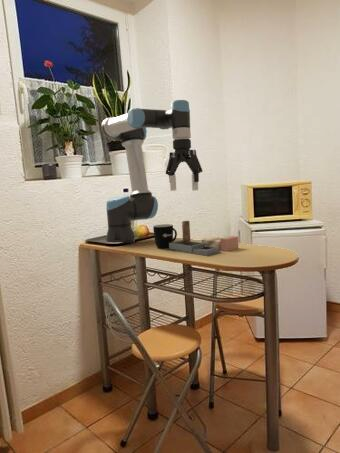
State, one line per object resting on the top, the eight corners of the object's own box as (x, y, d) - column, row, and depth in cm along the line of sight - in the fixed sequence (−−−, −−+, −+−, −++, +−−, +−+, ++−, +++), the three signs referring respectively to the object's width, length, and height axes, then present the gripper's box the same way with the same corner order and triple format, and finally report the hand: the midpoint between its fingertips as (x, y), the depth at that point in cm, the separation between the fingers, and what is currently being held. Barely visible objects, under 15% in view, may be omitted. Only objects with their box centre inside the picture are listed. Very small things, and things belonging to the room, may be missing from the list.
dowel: (181, 248, 156) (180, 221, 154) (187, 247, 158) (185, 220, 156) (187, 249, 153) (185, 221, 152) (192, 248, 155) (190, 220, 154)
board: (202, 248, 158) (201, 239, 158) (214, 245, 163) (214, 237, 163) (219, 251, 151) (219, 241, 150) (231, 248, 156) (231, 239, 155)
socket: (192, 253, 147) (192, 248, 147) (206, 250, 152) (205, 245, 152) (206, 255, 141) (206, 250, 141) (220, 252, 146) (220, 247, 146)
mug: (162, 250, 158) (161, 227, 157) (150, 247, 165) (149, 226, 164) (183, 246, 165) (182, 224, 164) (171, 244, 172) (170, 223, 171)
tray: (169, 249, 158) (168, 242, 158) (183, 246, 164) (182, 240, 163) (191, 253, 148) (191, 246, 147) (205, 250, 153) (205, 243, 152)
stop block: (220, 250, 150) (220, 238, 150) (233, 247, 155) (232, 236, 155) (226, 251, 148) (225, 239, 147) (238, 248, 153) (238, 236, 152)
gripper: (156, 142, 157) (158, 191, 160) (196, 135, 138) (198, 190, 141) (169, 142, 161) (171, 190, 164) (209, 136, 143) (211, 189, 145)
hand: (184, 190), depth 152 cm, fingers open, 13 cm apart
